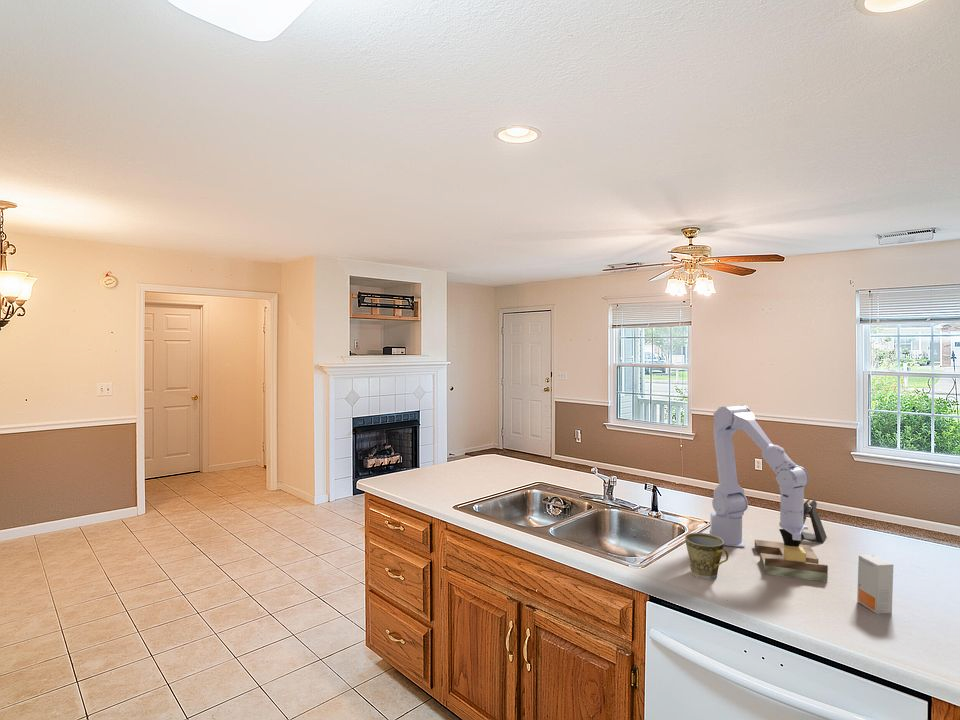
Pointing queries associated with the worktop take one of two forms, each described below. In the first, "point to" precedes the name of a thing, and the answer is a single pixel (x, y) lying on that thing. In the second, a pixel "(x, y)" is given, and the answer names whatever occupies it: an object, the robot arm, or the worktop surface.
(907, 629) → the worktop surface
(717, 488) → the robot arm
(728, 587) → the worktop surface
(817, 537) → the phone stand
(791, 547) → the block
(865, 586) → the skincare box
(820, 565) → the box
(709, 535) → the ceramic cup
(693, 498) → the worktop surface
